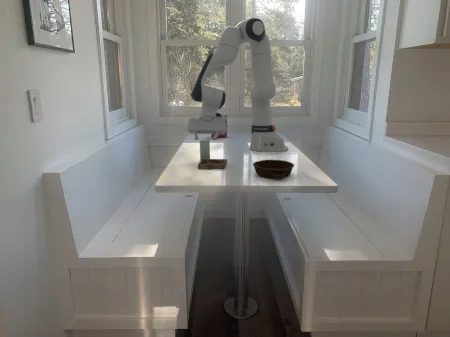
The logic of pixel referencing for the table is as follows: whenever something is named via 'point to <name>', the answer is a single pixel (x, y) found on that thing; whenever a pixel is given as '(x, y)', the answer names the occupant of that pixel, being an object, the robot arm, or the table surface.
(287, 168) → the dish
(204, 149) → the sage ceramic canister
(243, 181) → the table surface
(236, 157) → the table surface
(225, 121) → the candy bar box
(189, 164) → the table surface
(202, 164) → the walnut tray
